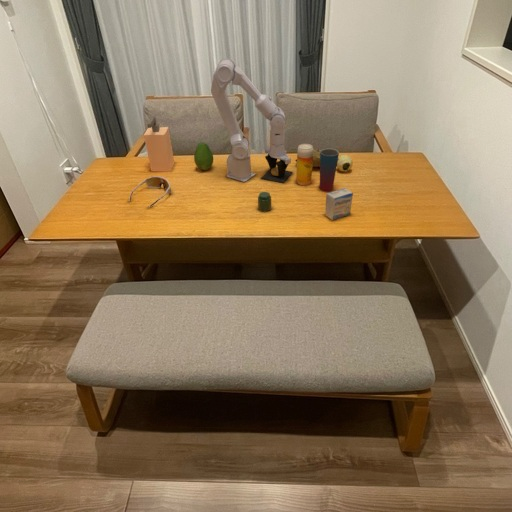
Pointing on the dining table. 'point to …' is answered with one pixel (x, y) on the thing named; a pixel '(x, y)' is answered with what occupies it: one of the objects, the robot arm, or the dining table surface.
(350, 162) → the cream rounded piece
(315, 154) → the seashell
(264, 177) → the coaster
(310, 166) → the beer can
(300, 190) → the dining table surface
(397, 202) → the dining table surface
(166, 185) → the sunglasses
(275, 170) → the lid
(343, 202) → the medicine box
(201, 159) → the fruit
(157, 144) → the soap dispenser
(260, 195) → the jar
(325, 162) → the cup
